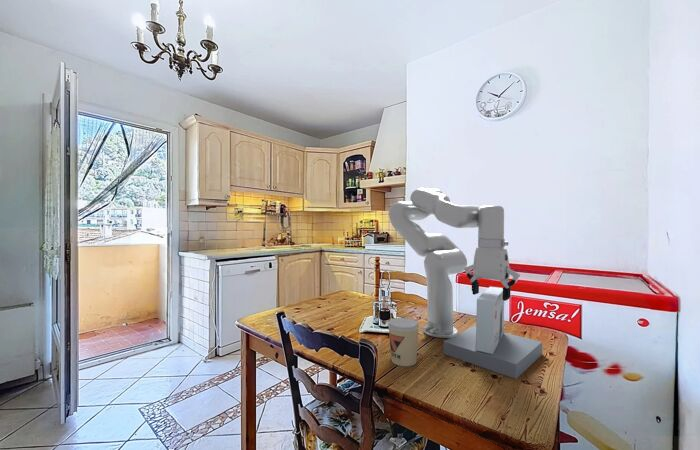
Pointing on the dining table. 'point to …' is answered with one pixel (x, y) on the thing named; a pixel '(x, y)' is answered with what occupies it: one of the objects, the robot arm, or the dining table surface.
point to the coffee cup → (403, 341)
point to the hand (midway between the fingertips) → (490, 296)
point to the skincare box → (489, 320)
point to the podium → (495, 352)
